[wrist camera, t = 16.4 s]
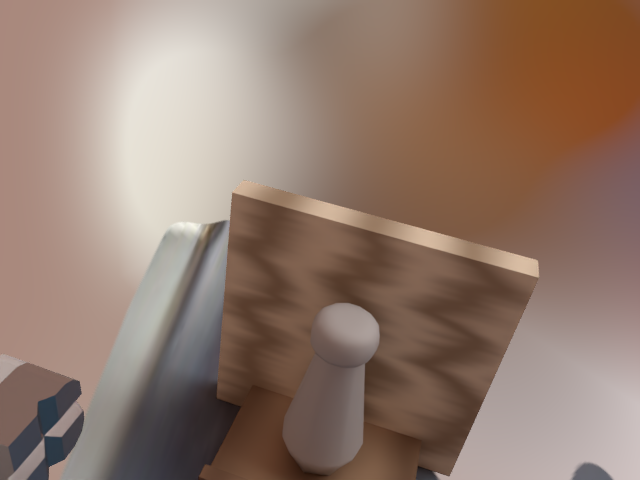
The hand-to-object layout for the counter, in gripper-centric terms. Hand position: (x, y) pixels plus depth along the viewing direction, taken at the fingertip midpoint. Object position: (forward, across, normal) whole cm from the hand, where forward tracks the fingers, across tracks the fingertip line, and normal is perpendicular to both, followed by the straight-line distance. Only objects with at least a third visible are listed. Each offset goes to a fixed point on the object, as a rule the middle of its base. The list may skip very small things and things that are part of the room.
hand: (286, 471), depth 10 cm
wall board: (+26, +1, +30) cm, 40 cm away
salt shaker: (+21, +1, +27) cm, 34 cm away
